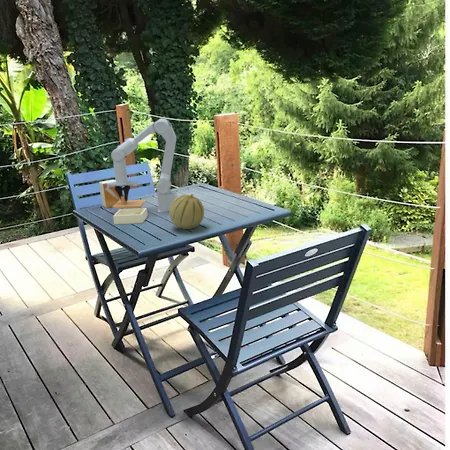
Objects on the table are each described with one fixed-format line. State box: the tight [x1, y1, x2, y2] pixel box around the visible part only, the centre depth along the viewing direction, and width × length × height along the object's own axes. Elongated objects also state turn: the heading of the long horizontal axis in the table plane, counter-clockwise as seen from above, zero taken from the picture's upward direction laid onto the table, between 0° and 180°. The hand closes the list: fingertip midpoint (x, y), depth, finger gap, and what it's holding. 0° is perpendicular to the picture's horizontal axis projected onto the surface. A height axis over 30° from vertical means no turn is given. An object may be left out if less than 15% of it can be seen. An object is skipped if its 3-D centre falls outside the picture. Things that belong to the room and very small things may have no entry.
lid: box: [112, 193, 147, 209], centre depth 227 cm, size 14×12×5 cm
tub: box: [112, 207, 149, 225], centre depth 214 cm, size 13×11×4 cm
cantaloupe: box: [168, 193, 205, 230], centre depth 197 cm, size 15×15×15 cm
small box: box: [98, 179, 120, 209], centre depth 243 cm, size 8×6×13 cm
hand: (124, 200), depth 227 cm, fingers closed on lid
